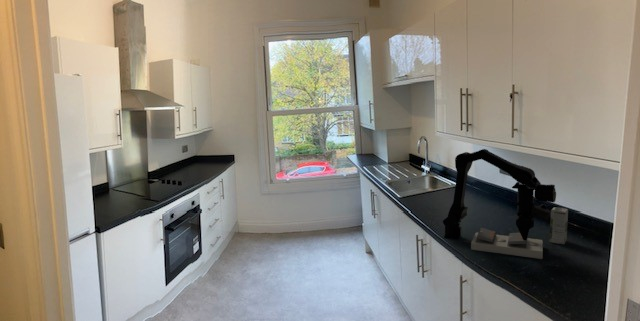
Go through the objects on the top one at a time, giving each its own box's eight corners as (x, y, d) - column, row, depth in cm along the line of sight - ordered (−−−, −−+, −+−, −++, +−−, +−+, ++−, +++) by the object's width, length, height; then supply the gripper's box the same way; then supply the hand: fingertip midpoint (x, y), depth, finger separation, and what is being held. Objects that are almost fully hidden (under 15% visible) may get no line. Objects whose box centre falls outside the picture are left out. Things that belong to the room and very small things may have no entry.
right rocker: (508, 244, 152) (507, 241, 152) (510, 235, 162) (509, 232, 162) (525, 243, 149) (524, 240, 149) (525, 234, 159) (525, 231, 159)
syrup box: (551, 238, 166) (552, 206, 164) (567, 240, 163) (568, 208, 161) (549, 242, 162) (550, 209, 160) (565, 245, 158) (566, 211, 156)
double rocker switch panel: (461, 248, 161) (461, 240, 160) (466, 237, 173) (466, 230, 172) (542, 259, 146) (542, 250, 145) (542, 246, 158) (542, 239, 157)
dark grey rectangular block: (476, 237, 158) (477, 234, 158) (480, 229, 168) (481, 227, 167) (492, 242, 156) (492, 239, 155) (494, 234, 165) (495, 231, 165)
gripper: (549, 206, 140) (548, 246, 142) (548, 195, 156) (547, 231, 158) (515, 204, 146) (515, 243, 148) (517, 194, 161) (517, 229, 163)
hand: (525, 236), depth 154 cm, fingers open, 9 cm apart
